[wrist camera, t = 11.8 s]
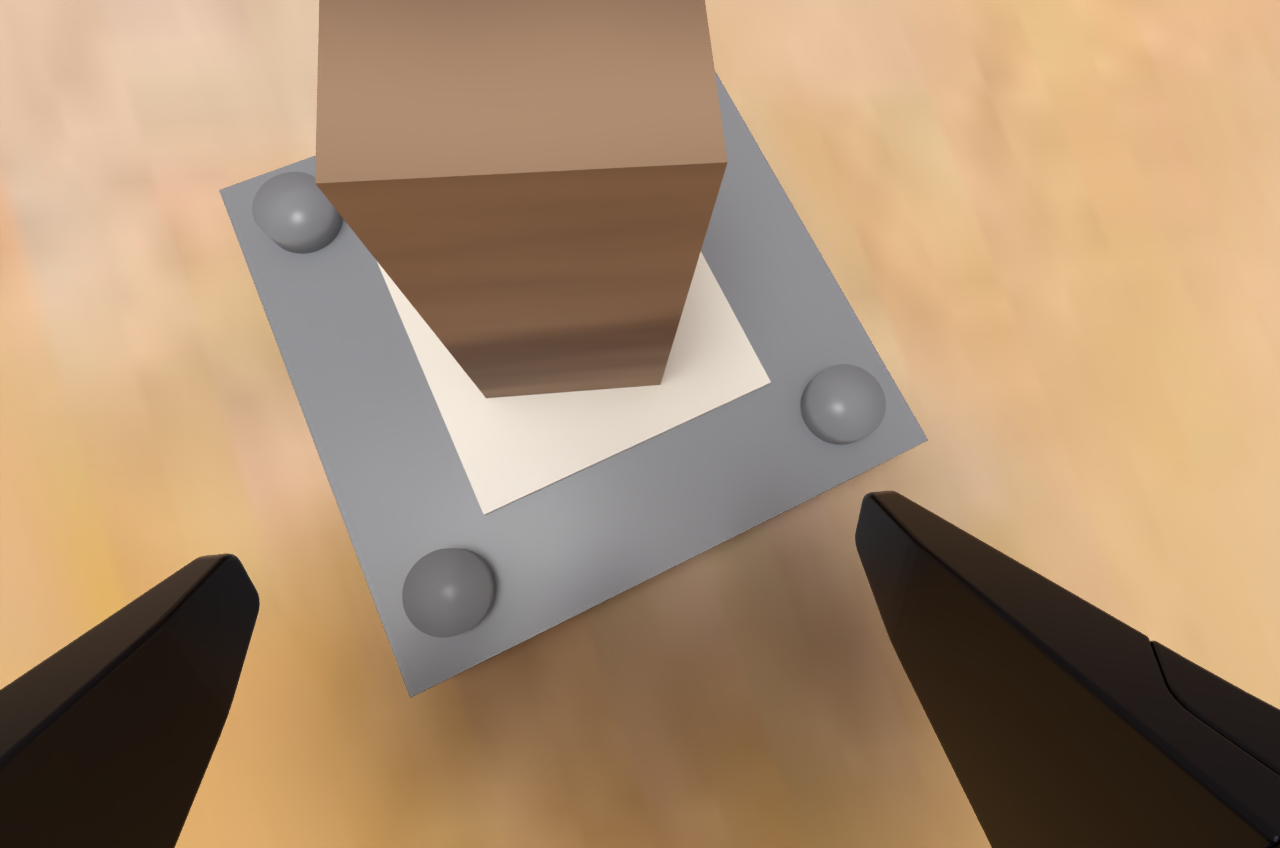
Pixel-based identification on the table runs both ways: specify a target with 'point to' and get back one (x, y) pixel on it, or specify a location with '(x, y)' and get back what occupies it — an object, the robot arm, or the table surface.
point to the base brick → (564, 420)
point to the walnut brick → (527, 174)
